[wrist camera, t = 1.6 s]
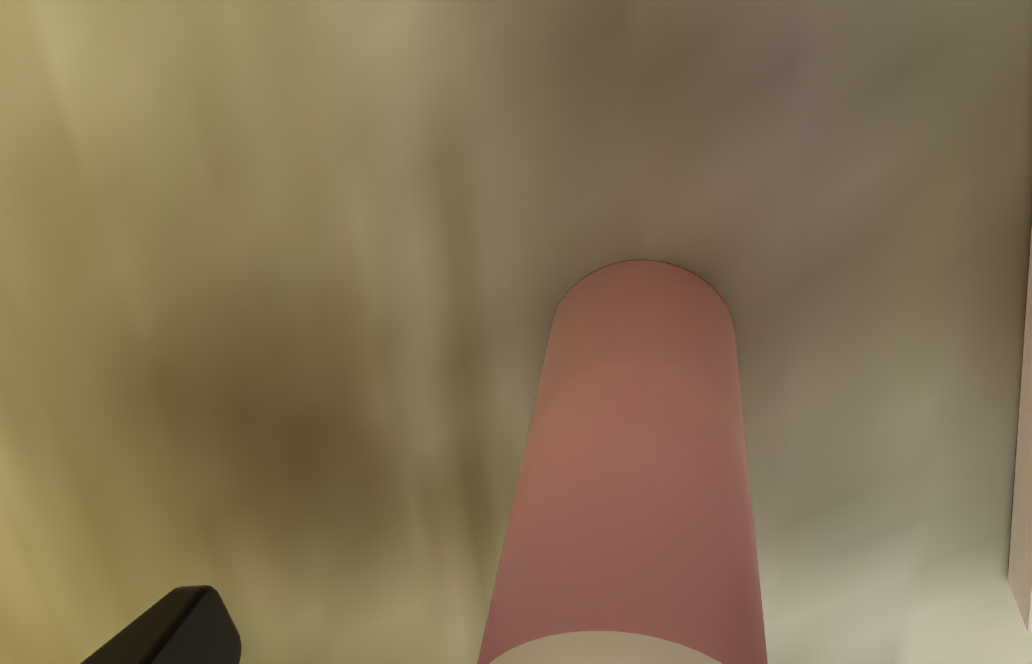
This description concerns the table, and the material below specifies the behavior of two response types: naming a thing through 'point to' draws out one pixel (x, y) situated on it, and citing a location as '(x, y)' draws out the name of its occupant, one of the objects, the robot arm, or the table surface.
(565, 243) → the table surface
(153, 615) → the robot arm
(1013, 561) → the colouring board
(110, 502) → the table surface
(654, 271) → the rose marker
